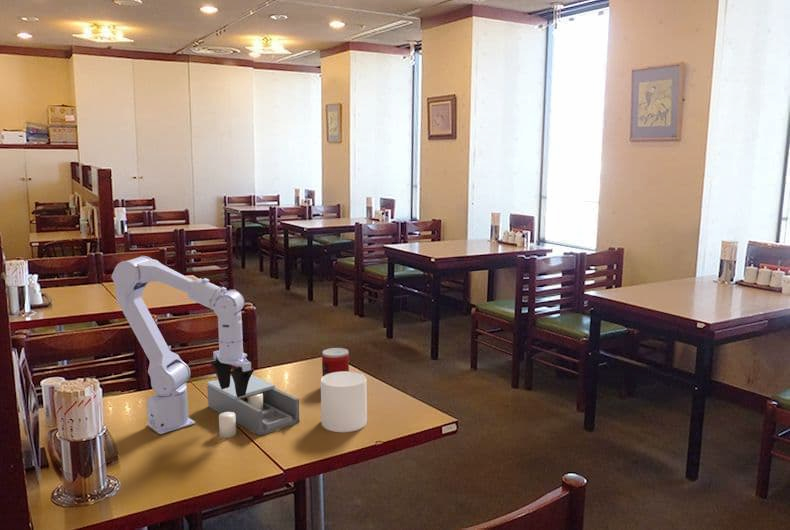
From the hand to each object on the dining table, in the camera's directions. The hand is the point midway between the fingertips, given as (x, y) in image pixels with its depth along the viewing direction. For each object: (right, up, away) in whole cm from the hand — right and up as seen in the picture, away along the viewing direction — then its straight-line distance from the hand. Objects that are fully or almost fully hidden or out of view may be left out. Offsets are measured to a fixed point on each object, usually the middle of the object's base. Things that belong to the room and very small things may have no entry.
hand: (233, 391), depth 159 cm
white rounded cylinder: (-1, -10, -2) cm, 10 cm away
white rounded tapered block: (+4, -8, +9) cm, 13 cm away
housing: (+3, -8, +10) cm, 13 cm away
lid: (-2, -1, +13) cm, 13 cm away
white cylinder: (+28, -9, +4) cm, 29 cm away
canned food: (+23, -5, +30) cm, 38 cm away
